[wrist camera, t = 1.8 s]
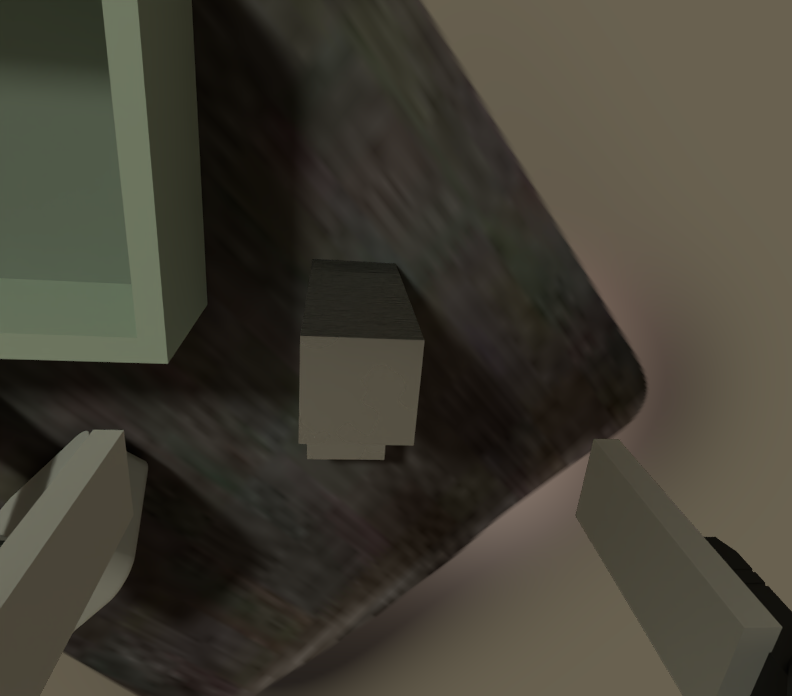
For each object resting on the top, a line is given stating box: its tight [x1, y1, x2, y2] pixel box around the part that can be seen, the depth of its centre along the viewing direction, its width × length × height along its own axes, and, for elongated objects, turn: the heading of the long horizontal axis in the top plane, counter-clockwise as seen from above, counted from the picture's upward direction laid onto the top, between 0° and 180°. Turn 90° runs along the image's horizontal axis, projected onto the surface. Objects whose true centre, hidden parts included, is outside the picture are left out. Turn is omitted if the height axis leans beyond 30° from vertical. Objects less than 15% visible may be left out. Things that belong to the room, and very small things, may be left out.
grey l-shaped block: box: [299, 259, 425, 460], centre depth 25 cm, size 10×4×10 cm, turn 176°
